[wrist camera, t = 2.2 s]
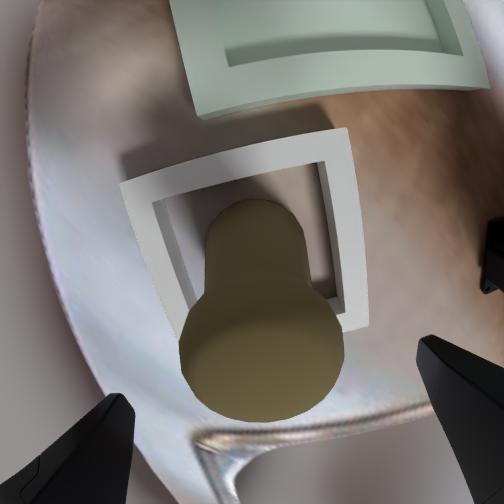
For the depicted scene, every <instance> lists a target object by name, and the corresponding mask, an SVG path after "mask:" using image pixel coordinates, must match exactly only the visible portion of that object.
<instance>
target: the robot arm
mask: <svg viewBox="0 0 504 504" xmlns="http://www.w3.org/2000/svg"><path fill="white" fill-rule="evenodd" d="M497 289H500V290H501V291H502V292H503V293H504V216H503V217H500V218H496V219H493V220H490V222H489V223H488V228H487V245H486V256H485V266H484V274H483V281H482V288H481V291H482V292H483V293H484V294H488V293H491V292H493V291H495V290H497ZM416 363H417V367H418V369H419V372H420V374H421V377H422V380H423V382H424V385H425V388H426V390H427V393H428V396H429V399H430V401H431V404H432V406H433V409H434V411H435V413H436V415H437V417H438V419H439V421H440V423H441V425H442V427H443V430H444V431H445V434H446V436H447V438H448V440H449V442H450V445H451V447H452V449H453V451H454V454H455V456H456V458H457V461H458V463H459V465H460V468H461V470H462V473H463V475H464V477H465V480H466V483H467V485H468V488H469V490H470V493H471V496H472V498H473V501H474V504H504V368H503V367H500V366H498V365H496V364H494V363H492V362H490V361H488V360H486V359H484V358H481V357H479V356H477V355H475V354H473V353H471V352H469V351H467V350H465V349H462V348H460V347H458V346H456V345H454V344H452V343H450V342H448V341H446V340H443V339H441V338H439V337H437V336H435V335H428V336H425V337H422V338H421V339H420V340H419V342H418V349H417V356H416ZM134 427H135V411H134V409H133V407H132V406H131V405H130V403H129V402H128V400H127V399H126V398H125V396H124V395H123V394H121V393H110V394H109V395H108V396H106V397H105V398H104V399H103V400H102V401H101V402H100V403H99V404H97V405H96V406H95V407H94V408H93V409H92V410H91V411H89V412H88V413H87V414H86V415H85V416H84V417H83V418H82V419H80V420H79V421H78V422H77V423H76V424H75V425H73V426H72V427H71V428H70V429H69V430H68V431H67V432H65V433H64V434H63V435H62V436H61V437H60V438H59V439H57V440H56V441H55V442H54V443H53V444H52V445H51V446H49V447H48V448H47V449H46V450H45V451H43V452H42V453H41V455H39V456H38V457H36V458H35V459H34V460H33V461H32V462H31V463H29V464H28V465H27V466H26V467H24V468H23V469H22V470H20V471H19V472H18V473H16V474H15V475H13V476H12V477H11V478H9V479H8V480H6V481H5V482H3V483H2V484H0V504H125V502H126V495H127V488H128V480H129V474H130V468H131V461H132V455H133V441H134Z"/></svg>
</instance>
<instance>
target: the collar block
mask: <svg viewBox="0 0 504 504" xmlns="http://www.w3.org/2000/svg"><path fill="white" fill-rule="evenodd" d="M315 162H317V167H318V172H319V177H320V182H321V188H322V193H323V199H324V205H325V211H326V217H327V223H328V229H329V236H330V243H331V250H332V257H333V265H334V273H335V281H336V289H337V297H334V298H329V299H327V301H328V303H329V304H330V306H331V308H332V310H333V311H334V313H335V315H336V316H337V318H338V320H339V322H340V324H341V327H342V333H344V332H347V331H351V330H355V329H358V328H362V327H366V326H369V312H368V288H367V271H366V258H365V246H364V236H363V227H362V218H361V210H360V202H359V195H358V188H357V181H356V175H355V169H354V163H353V157H352V152H351V146H350V141H349V136H348V131H347V127H345V128H337V129H330V130H324V131H318V132H312V133H306V134H300V135H295V136H290V137H285V138H280V139H275V140H270V141H265V142H261V143H256V144H252V145H247V146H243V147H239V148H235V149H231V150H227V151H223V152H219V153H215V154H211V155H208V156H204V157H200V158H197V159H193V160H190V161H186V162H183V163H179V164H176V165H173V166H169V167H166V168H163V169H160V170H157V171H154V172H151V173H148V174H145V175H142V176H139V177H136V178H133V179H130V180H127V181H125V182H122V183H119V185H120V189H121V192H122V195H123V199H124V202H125V205H126V208H127V211H128V215H129V218H130V221H131V224H132V227H133V230H134V232H135V235H136V238H137V241H138V244H139V247H140V250H141V252H142V255H143V258H144V260H145V263H146V266H147V268H148V271H149V274H150V276H151V279H152V281H153V284H154V286H155V289H156V291H157V294H158V296H159V299H160V301H161V303H162V306H163V308H164V311H165V313H166V315H167V317H168V320H169V322H170V324H171V327H172V329H173V331H174V333H175V335H176V338H177V340H178V342H179V339H180V336H181V333H182V330H183V327H184V324H185V321H186V318H187V315H188V312H189V311H190V309H191V308H192V307H193V306H194V305H195V304H196V302H197V299H196V297H195V294H194V291H193V288H192V285H191V283H190V280H189V277H188V274H187V271H186V268H185V265H184V262H183V260H182V257H181V254H180V251H179V248H178V245H177V241H176V238H175V235H174V232H173V229H172V226H171V223H170V220H169V216H168V213H167V210H166V207H165V203H164V200H163V199H165V198H168V197H172V196H175V195H179V194H182V193H186V192H190V191H193V190H197V189H201V188H204V187H208V186H212V185H216V184H220V183H224V182H228V181H232V180H236V179H240V178H244V177H249V176H253V175H257V174H262V173H266V172H271V171H275V170H280V169H285V168H290V167H295V166H300V165H305V164H310V163H315Z"/></svg>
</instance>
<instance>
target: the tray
mask: <svg viewBox="0 0 504 504" xmlns="http://www.w3.org/2000/svg"><path fill="white" fill-rule="evenodd" d="M169 2H170V6H171V11H172V15H173V19H174V24H175V28H176V32H177V37H178V41H179V45H180V49H181V54H182V58H183V62H184V66H185V70H186V74H187V79H188V83H189V87H190V91H191V95H192V99H193V103H194V107H195V111H196V115H197V117H199V118H201V119H203V120H207V119H211V118H214V117H218V116H222V115H226V114H230V113H234V112H238V111H243V110H247V109H252V108H256V107H261V106H266V105H271V104H276V103H281V102H287V101H293V100H299V99H305V98H312V97H319V96H326V95H335V94H344V93H354V92H366V91H380V90H405V89H438V90H462V91H472V90H482V89H491V88H490V83H489V79H488V75H487V71H486V67H485V63H484V60H483V56H482V53H481V50H480V46H479V43H478V40H477V37H476V34H475V31H474V29H473V26H472V23H471V21H470V18H469V16H468V13H467V11H466V8H465V6H464V3H463V1H462V0H169Z"/></svg>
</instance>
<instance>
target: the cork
mask: <svg viewBox="0 0 504 504" xmlns="http://www.w3.org/2000/svg"><path fill="white" fill-rule="evenodd" d="M179 355H180V363H181V371H182V374H183V376H184V378H185V379H186V381H187V383H188V385H189V386H190V388H191V390H192V391H193V393H194V394H195V396H196V398H197V399H199V400H200V401H201V402H202V403H203V404H204V405H206V406H207V407H208V408H209V409H210V410H212V411H214V412H217V413H219V414H221V415H223V416H225V417H227V418H231V419H235V420H240V421H245V422H274V421H279V420H285V419H289V418H292V417H294V416H297V415H299V414H302V413H304V412H306V411H308V410H310V409H311V408H312V407H314V406H315V405H317V404H318V403H319V402H321V401H322V400H323V399H324V398H325V397H326V395H327V394H328V393H329V392H330V390H331V389H332V388H333V387H334V385H335V383H336V381H337V379H338V376H339V374H340V371H341V367H342V364H343V361H344V342H343V333H342V327H341V324H340V322H339V320H338V318H337V316H336V315H335V313H334V311H333V310H332V308H331V306H330V304H329V303H328V301H327V299H326V298H325V297H323V296H322V295H321V294H320V293H318V292H317V291H316V290H315V289H313V288H312V283H311V276H310V268H309V261H308V254H307V248H306V242H305V237H304V232H303V229H302V227H301V226H300V224H299V222H298V221H297V219H296V217H295V216H294V215H293V214H292V213H290V212H289V211H288V210H287V209H286V208H284V207H283V206H281V205H279V204H276V203H273V202H271V201H268V200H257V199H249V200H245V201H241V202H238V203H234V204H233V205H231V206H230V207H228V208H226V209H225V210H223V211H222V212H220V214H219V215H218V216H217V217H216V219H215V220H214V221H213V222H212V224H211V225H210V228H209V231H208V234H207V237H206V245H205V291H204V294H203V295H202V296H201V298H200V299H199V300H198V301H197V302H196V304H195V305H194V306H193V307H192V308H191V309H190V311H189V312H188V315H187V318H186V321H185V324H184V327H183V330H182V333H181V336H180V339H179Z"/></svg>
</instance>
